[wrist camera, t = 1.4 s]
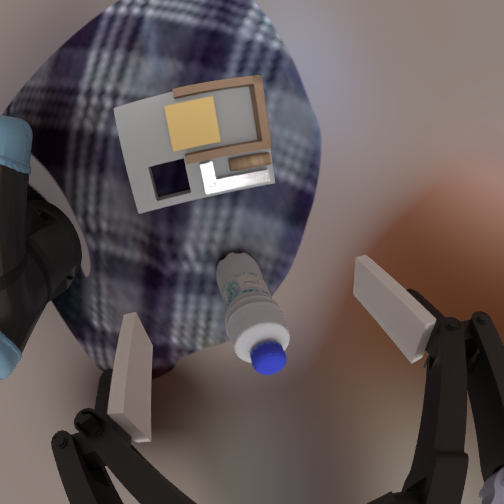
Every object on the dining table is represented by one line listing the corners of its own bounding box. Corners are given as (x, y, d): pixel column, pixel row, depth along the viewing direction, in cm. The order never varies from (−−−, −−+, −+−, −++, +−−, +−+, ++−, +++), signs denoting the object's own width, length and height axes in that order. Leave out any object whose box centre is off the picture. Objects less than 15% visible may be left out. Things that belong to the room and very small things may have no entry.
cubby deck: (140, 209, 35) (135, 220, 31) (117, 109, 29) (107, 107, 25) (270, 179, 38) (280, 187, 34) (256, 79, 31) (265, 74, 27)
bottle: (265, 256, 43) (318, 350, 25) (244, 291, 45) (281, 392, 27) (225, 239, 40) (259, 336, 23) (205, 277, 42) (224, 383, 25)
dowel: (229, 170, 34) (231, 172, 32) (227, 158, 33) (229, 159, 32) (268, 163, 35) (272, 165, 33) (266, 151, 34) (270, 152, 32)
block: (175, 147, 31) (173, 151, 27) (167, 108, 29) (164, 106, 24) (216, 139, 32) (220, 141, 27) (209, 99, 29) (212, 96, 25)
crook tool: (205, 191, 34) (206, 194, 33) (199, 162, 33) (199, 164, 31) (266, 179, 35) (270, 181, 34) (262, 150, 34) (266, 152, 32)
